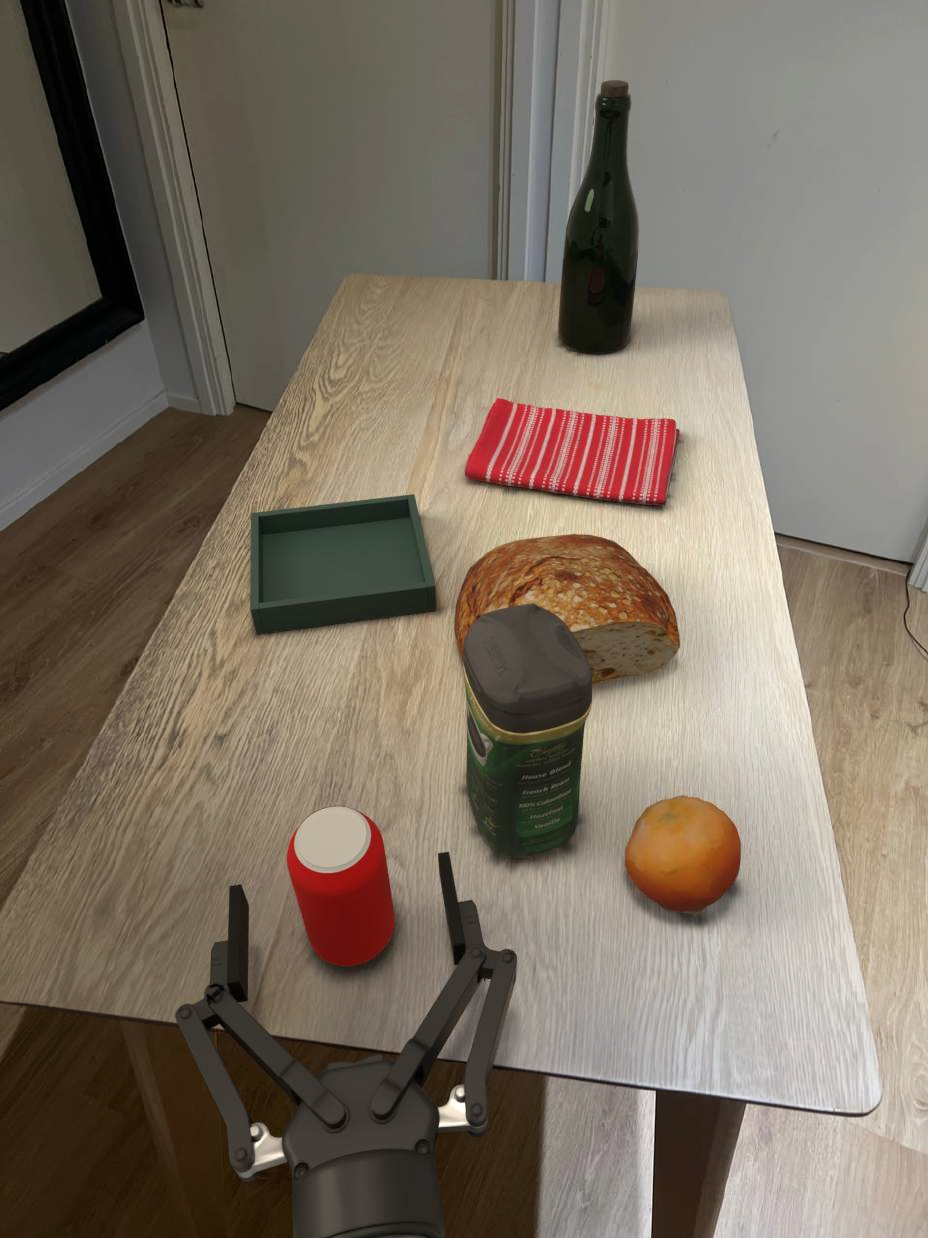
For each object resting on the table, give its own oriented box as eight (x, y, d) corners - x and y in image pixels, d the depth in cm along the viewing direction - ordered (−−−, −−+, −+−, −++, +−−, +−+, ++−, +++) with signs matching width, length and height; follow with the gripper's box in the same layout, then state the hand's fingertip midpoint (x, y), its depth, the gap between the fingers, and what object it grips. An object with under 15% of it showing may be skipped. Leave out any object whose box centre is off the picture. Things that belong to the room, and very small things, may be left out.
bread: (470, 717, 77) (468, 635, 71) (441, 583, 91) (437, 503, 84) (695, 687, 79) (714, 604, 73) (635, 560, 93) (646, 480, 86)
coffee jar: (591, 845, 68) (614, 678, 55) (493, 874, 66) (494, 709, 53) (545, 750, 75) (556, 582, 62) (455, 774, 73) (448, 607, 60)
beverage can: (411, 911, 64) (399, 815, 56) (368, 988, 60) (349, 896, 52) (338, 879, 66) (317, 782, 58) (292, 952, 62) (262, 858, 54)
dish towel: (495, 411, 115) (495, 392, 114) (679, 434, 110) (683, 415, 109) (459, 484, 103) (458, 464, 102) (664, 513, 98) (667, 493, 97)
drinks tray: (256, 634, 86) (250, 609, 83) (256, 537, 97) (250, 512, 95) (436, 611, 88) (435, 585, 85) (416, 518, 99) (414, 493, 97)
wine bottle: (632, 356, 126) (663, 91, 103) (558, 355, 126) (572, 92, 104) (626, 323, 133) (654, 71, 111) (556, 323, 134) (570, 71, 111)
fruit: (721, 957, 60) (683, 865, 57) (631, 924, 66) (593, 840, 63) (780, 877, 64) (747, 788, 61) (690, 853, 70) (656, 772, 67)
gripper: (132, 1329, 45) (165, 938, 60) (610, 1229, 47) (525, 879, 63) (86, 1298, 40) (135, 879, 55) (624, 1189, 42) (528, 818, 58)
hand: (343, 878), depth 59 cm, fingers open, 13 cm apart
